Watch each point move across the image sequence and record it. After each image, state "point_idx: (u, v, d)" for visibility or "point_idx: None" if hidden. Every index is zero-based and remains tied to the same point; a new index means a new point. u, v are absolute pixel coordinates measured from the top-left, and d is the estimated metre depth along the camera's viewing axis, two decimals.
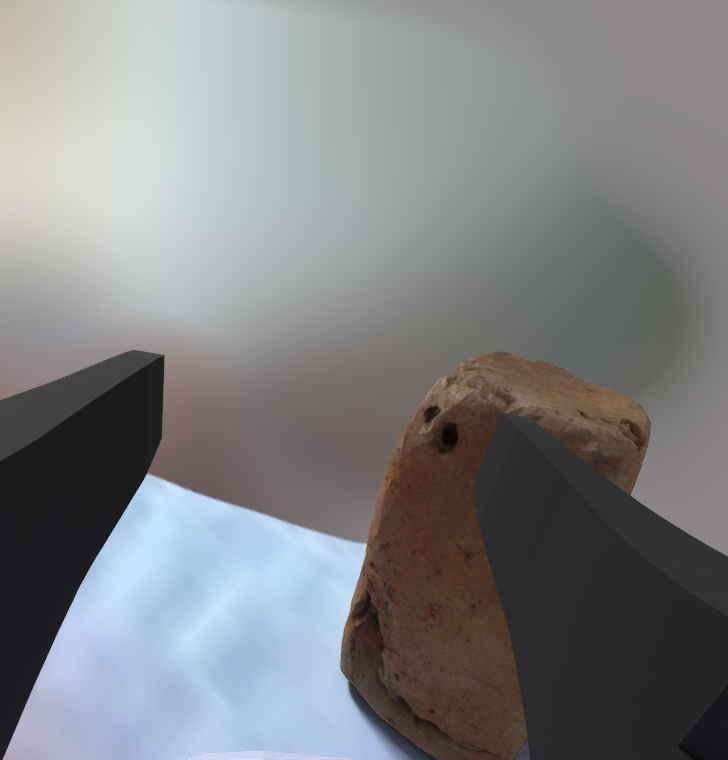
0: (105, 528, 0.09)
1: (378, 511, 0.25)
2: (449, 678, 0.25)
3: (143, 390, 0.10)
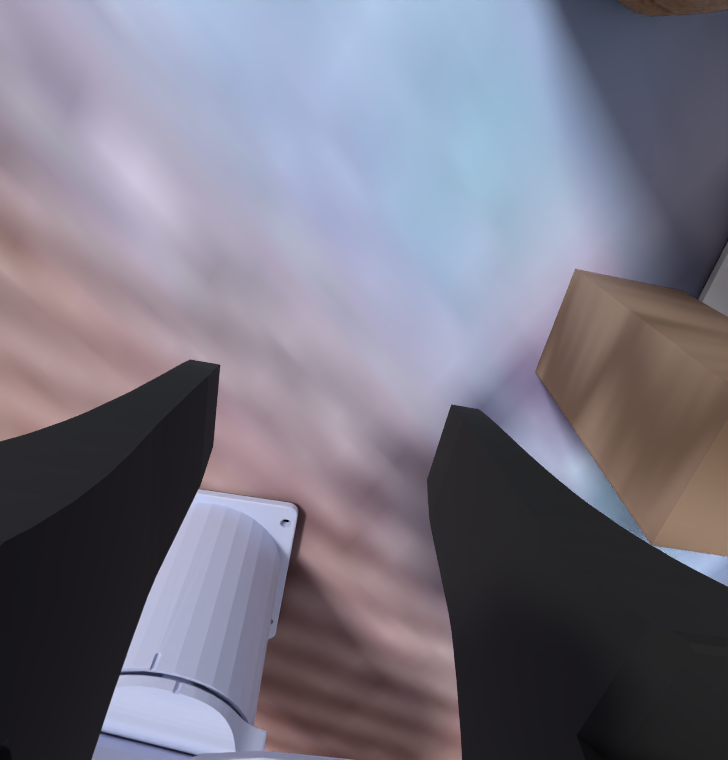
0: (169, 537, 0.09)
1: None
2: None
3: (204, 400, 0.10)
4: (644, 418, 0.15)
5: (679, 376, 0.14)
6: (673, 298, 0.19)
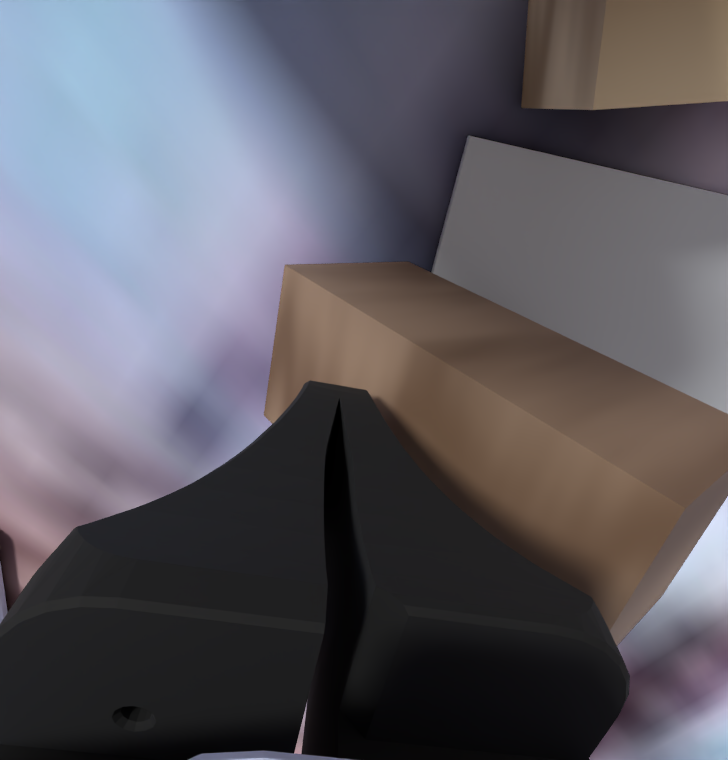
0: None
1: None
2: None
3: (333, 421, 0.10)
4: (493, 516, 0.10)
5: (543, 459, 0.09)
6: (416, 283, 0.14)
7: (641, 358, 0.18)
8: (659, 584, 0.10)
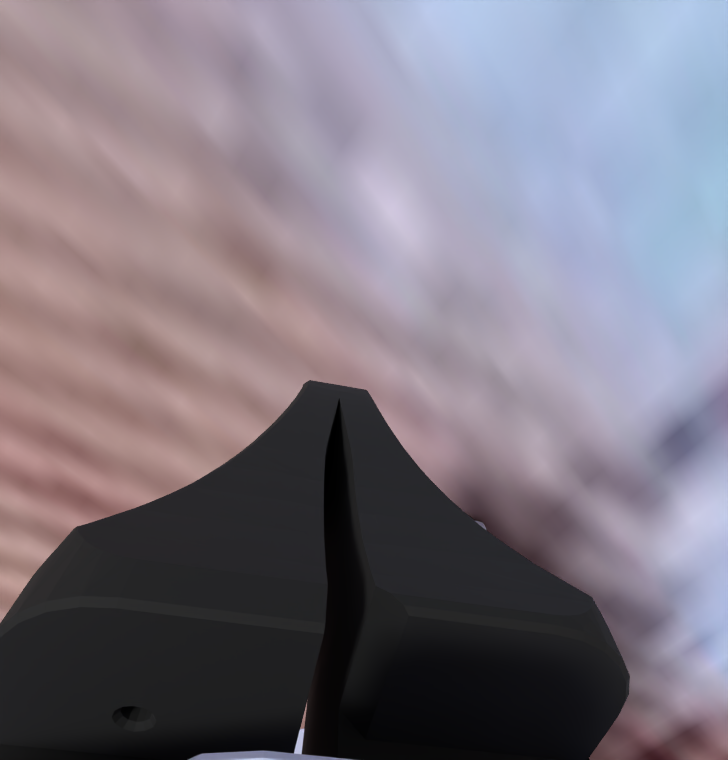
0: None
1: None
2: None
3: (333, 421, 0.10)
4: None
5: None
6: None
7: None
8: None
